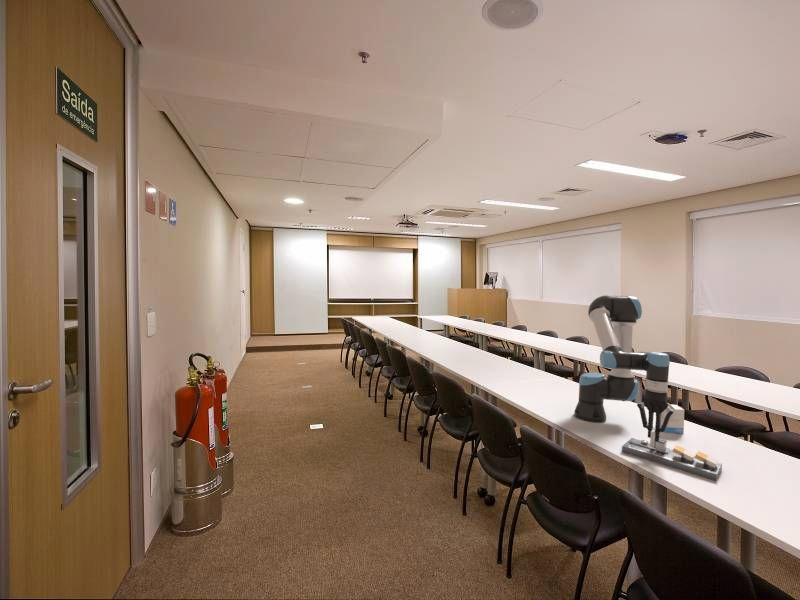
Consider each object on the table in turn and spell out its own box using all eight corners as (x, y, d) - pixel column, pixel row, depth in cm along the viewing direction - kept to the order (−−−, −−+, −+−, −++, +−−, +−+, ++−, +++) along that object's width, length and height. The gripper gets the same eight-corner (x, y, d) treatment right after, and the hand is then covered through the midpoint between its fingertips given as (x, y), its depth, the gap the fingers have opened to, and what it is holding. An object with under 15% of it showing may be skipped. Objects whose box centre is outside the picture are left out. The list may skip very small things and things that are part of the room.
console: (621, 451, 161) (622, 443, 161) (631, 443, 170) (631, 435, 170) (716, 481, 139) (717, 471, 139) (721, 469, 148) (722, 460, 148)
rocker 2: (694, 458, 146) (695, 454, 146) (697, 453, 150) (698, 450, 150) (714, 468, 142) (716, 464, 142) (717, 463, 146) (718, 460, 145)
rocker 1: (672, 451, 151) (673, 448, 151) (675, 447, 155) (676, 444, 155) (691, 461, 147) (692, 458, 147) (694, 457, 151) (695, 453, 151)
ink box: (683, 434, 183) (685, 406, 182) (664, 432, 184) (666, 405, 184) (674, 427, 191) (676, 401, 190) (656, 425, 193) (657, 399, 192)
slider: (655, 450, 157) (655, 440, 157) (657, 448, 159) (657, 438, 159) (664, 452, 154) (664, 442, 154) (666, 450, 157) (666, 440, 156)
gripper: (635, 388, 160) (632, 443, 161) (673, 395, 150) (669, 454, 151) (640, 385, 165) (637, 438, 166) (677, 392, 155) (673, 448, 157)
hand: (652, 446), depth 159 cm, fingers closed
